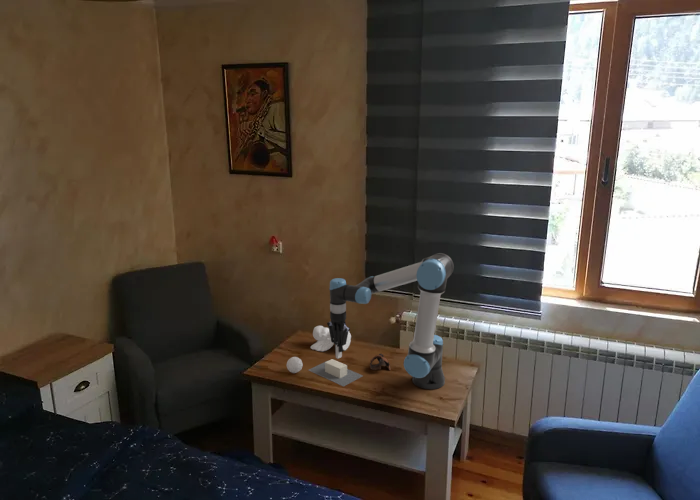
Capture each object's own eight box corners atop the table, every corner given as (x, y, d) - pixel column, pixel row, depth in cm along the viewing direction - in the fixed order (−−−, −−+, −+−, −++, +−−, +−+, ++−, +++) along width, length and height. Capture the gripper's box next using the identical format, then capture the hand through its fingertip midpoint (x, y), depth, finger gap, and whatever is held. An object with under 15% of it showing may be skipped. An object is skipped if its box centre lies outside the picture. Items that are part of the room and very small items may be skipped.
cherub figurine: (342, 338, 279) (307, 328, 286) (340, 359, 283) (306, 348, 290) (352, 328, 291) (319, 318, 298) (350, 348, 295) (317, 339, 302)
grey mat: (363, 376, 261) (363, 375, 261) (343, 387, 251) (343, 386, 251) (327, 361, 277) (327, 360, 277) (307, 370, 267) (307, 370, 266)
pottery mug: (392, 374, 264) (385, 363, 260) (374, 381, 266) (367, 369, 263) (391, 358, 274) (384, 346, 271) (374, 364, 277) (367, 353, 273)
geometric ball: (299, 376, 266) (307, 367, 263) (285, 375, 262) (293, 365, 258) (295, 364, 271) (303, 354, 268) (281, 362, 267) (289, 352, 263)
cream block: (347, 365, 261) (332, 358, 267) (340, 368, 257) (324, 362, 264) (347, 374, 262) (332, 368, 269) (340, 378, 258) (324, 371, 265)
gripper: (353, 312, 253) (354, 358, 258) (333, 305, 261) (334, 350, 267) (342, 316, 247) (343, 364, 253) (322, 310, 256) (323, 356, 262)
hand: (338, 357), depth 260 cm, fingers closed
